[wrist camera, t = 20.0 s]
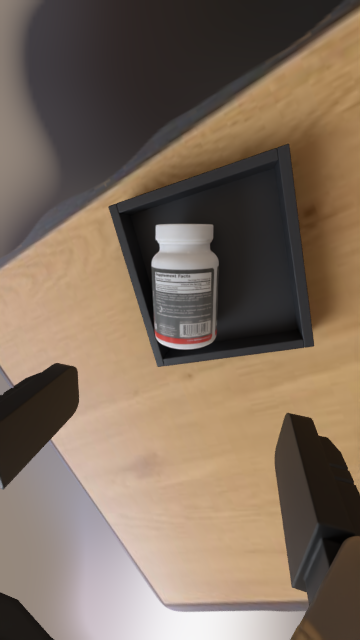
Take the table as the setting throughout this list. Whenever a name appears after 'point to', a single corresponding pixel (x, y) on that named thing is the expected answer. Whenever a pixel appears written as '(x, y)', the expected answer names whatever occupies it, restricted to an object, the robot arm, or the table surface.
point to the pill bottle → (185, 286)
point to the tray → (229, 254)
